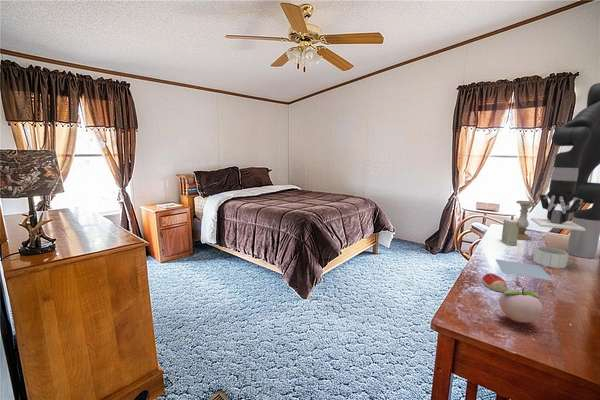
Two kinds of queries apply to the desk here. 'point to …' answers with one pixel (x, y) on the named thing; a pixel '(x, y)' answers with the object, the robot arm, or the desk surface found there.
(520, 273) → the mat
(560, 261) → the bowl
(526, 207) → the candle holder
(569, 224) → the lid
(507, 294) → the decorative fruit
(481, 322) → the desk surface
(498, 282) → the ladybug figurine
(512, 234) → the skincare box
